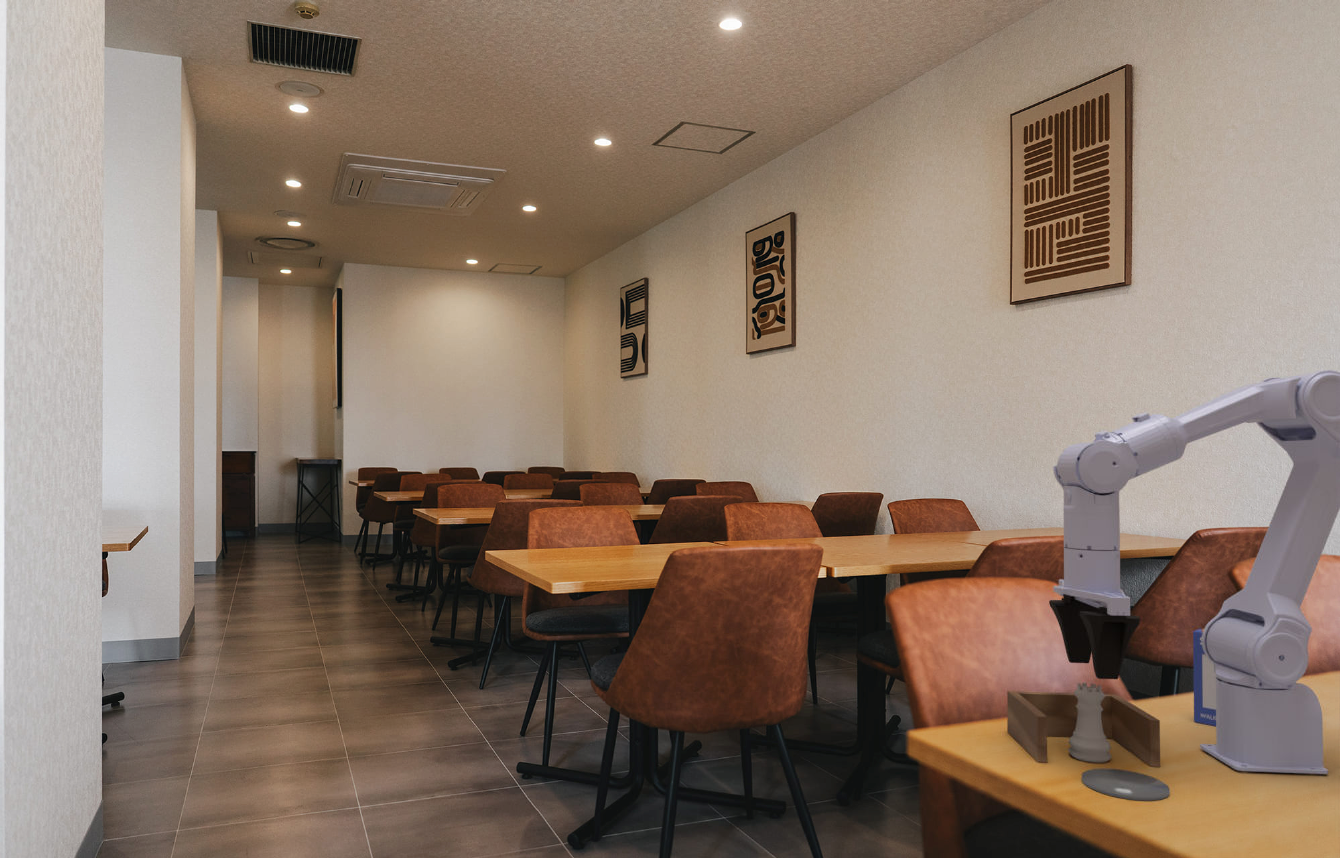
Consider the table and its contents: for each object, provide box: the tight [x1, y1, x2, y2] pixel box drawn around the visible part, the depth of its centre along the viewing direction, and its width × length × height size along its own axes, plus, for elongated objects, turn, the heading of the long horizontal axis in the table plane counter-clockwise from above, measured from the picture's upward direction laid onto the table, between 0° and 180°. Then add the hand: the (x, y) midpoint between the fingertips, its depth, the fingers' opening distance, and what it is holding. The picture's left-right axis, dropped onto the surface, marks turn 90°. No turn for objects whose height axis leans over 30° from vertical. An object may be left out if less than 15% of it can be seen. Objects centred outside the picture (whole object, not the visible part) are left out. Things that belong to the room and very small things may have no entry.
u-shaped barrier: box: [1006, 690, 1161, 768], centre depth 102 cm, size 13×11×5 cm
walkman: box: [1192, 628, 1216, 727], centre depth 112 cm, size 8×3×12 cm, turn 44°
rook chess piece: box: [1067, 682, 1113, 764], centre depth 99 cm, size 4×4×8 cm
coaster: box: [1081, 768, 1170, 802], centre depth 90 cm, size 8×8×1 cm
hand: (1092, 670), depth 99 cm, fingers open, 7 cm apart
